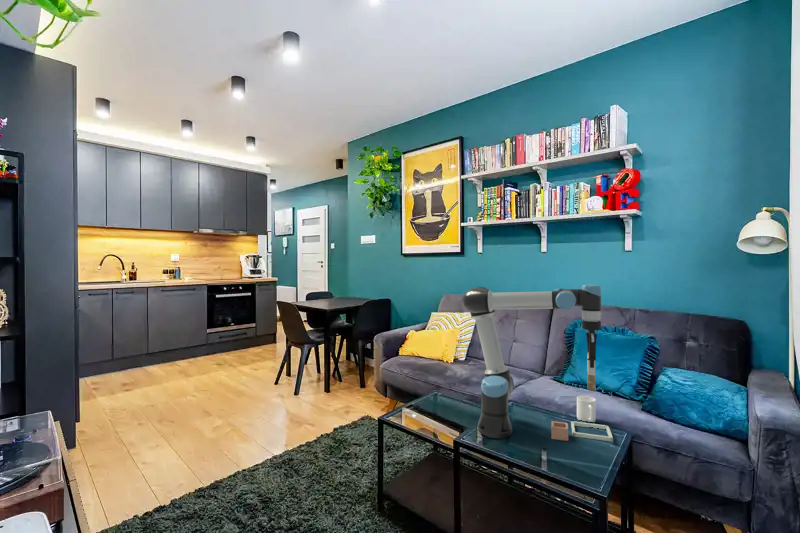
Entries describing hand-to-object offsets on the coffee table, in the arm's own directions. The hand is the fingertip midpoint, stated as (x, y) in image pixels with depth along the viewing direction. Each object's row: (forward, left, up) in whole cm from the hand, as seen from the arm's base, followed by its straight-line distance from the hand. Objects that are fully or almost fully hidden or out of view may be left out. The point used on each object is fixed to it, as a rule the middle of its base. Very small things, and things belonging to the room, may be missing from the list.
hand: (591, 373), depth 174 cm
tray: (0, 0, -27) cm, 27 cm away
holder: (-13, -9, -27) cm, 31 cm away
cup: (0, +16, -27) cm, 32 cm away
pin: (0, 0, -7) cm, 7 cm away
